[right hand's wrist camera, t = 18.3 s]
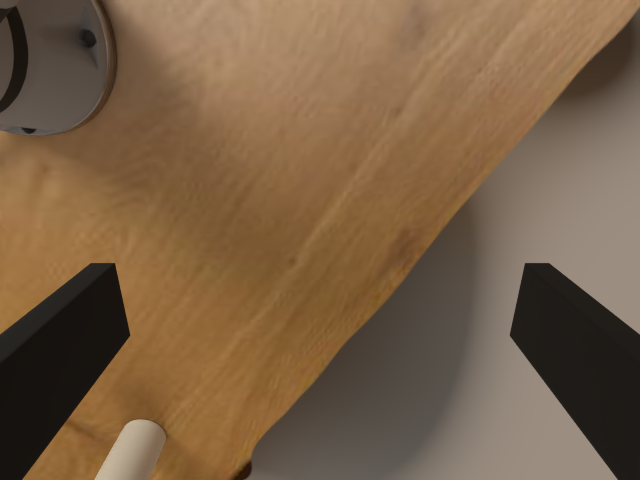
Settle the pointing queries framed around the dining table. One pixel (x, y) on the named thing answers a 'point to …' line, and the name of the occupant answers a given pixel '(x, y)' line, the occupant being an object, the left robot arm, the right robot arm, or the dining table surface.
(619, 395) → the right robot arm
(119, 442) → the can
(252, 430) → the dining table surface
